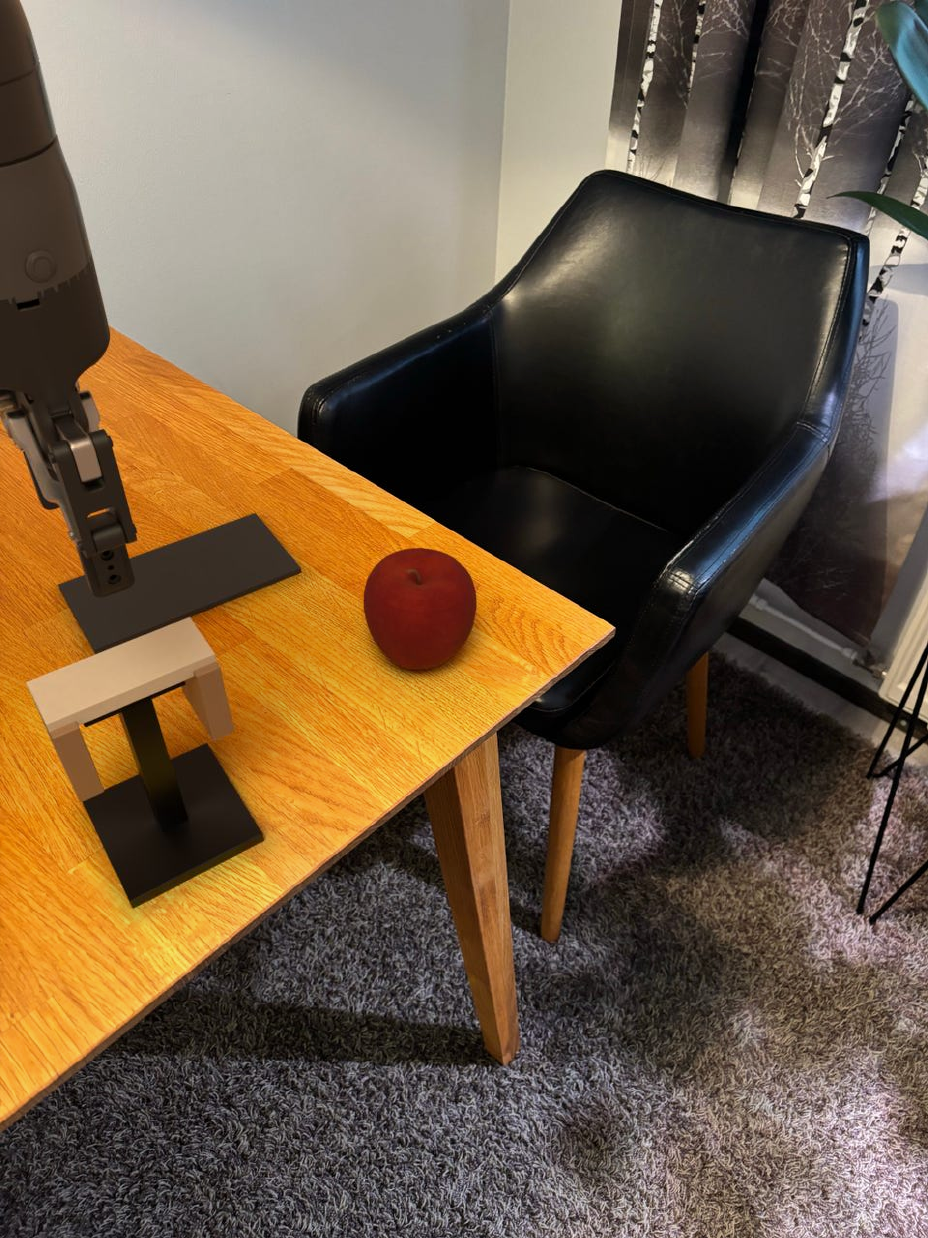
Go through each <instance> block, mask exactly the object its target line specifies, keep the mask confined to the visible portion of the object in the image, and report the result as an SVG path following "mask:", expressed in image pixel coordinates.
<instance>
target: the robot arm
mask: <svg viewBox="0 0 928 1238" xmlns="http://www.w3.org/2000/svg"><path fill="white" fill-rule="evenodd" d="M84 219H85V218H84V216H83V211H82V206H81V203H80V198H79V195H78V191H77V187H76V185H75V181H74V179H73V176H72V173H71V171H70V168H69V166H68V164H67V161H66V158H65V156H64V152H63V150H62V147H61V143H60V140H59V136H58V133H57V128H56V124H55V119H54V116H53V112H52V107H51V103H50V99H49V95H48V91H47V88H46V83H45V79H44V74H43V70H42V66H41V62H40V58H39V55H38V50H37V47H36V43H35V39H34V36H33V32H32V29H31V26H30V23H29V21H28V18H27V15H26V12H25V9H24V7H23V4H22V2H21V0H0V420H1V422H2V425H3V427H4V429H5V431H6V434H7V436H8V438H9V439H11V440H12V442H13V444H14V445H15V446H16V447H18V449H19V451H20V452H22V455H23V457H24V460H25V462H26V466H27V469H28V472H29V474H30V478H31V481H32V483H33V484H32V485H33V487H34V490H35V493H36V496H37V499H38V501H39V503H40V504H41V506H42V507H43V509H45V510H48V511H53V510H56V509H60V511H61V515H62V517H63V519H64V521H65V525H66V526H67V529H68V530H67V536H68V537H69V539H70V542H73V543H74V544H75V547H76V551H77V554H78V557H79V560H80V564H81V567H82V570H83V573H84V574H83V575H85V577H86V580H87V583H88V586H89V588H90V590H91V591H92V593H93V595H94V596H95V597H98V598H103V597H106V596H109V595H111V594H114V593H117V592H120V591H122V590H125V589H128V588H130V587H131V586H132V585H133V584H134V582H135V578H134V574H133V570H132V567H131V563H130V559H129V558H130V556H129V551H128V548H127V545H129V544H132V543H135V542H138V536H137V534H138V529H137V527H136V525H135V523H134V522H133V517H132V514H131V511H130V510H131V509H130V507H129V503H128V499H127V497H126V492H125V488H124V484H123V481H122V477H121V473H120V470H119V466H118V462H117V459H116V455H115V452H114V447H115V445H114V441H113V438H112V437H111V435H109V434H108V433H107V431H106V429H105V428H101V429H100V426H99V425H100V422H101V415H100V412H99V410H98V407H97V405H96V401H95V400H94V397H93V395H92V393H91V391H90V390H89V389H85V390H81V385H80V381H79V379H80V377H81V376H82V375H83V374H84V373H85V372H87V371H88V370H89V369H90V368H91V367H94V366H95V365H96V364H97V363H98V362H100V360H101V359H102V358H103V356H104V355H105V354H106V352H107V351H108V348H109V346H110V343H111V330H110V329H111V328H110V326H109V321H108V316H107V312H106V307H105V303H104V299H103V295H102V291H101V287H100V283H99V278H98V275H97V269H96V266H95V262H94V257H93V254H92V253H93V252H92V249H91V244H90V241H89V237H88V232H87V228H86V224H85V220H84ZM103 510H105V511H103ZM100 511H102V512H100ZM98 512H100V513H98ZM95 513H96V514H95ZM91 514H93V515H91Z"/></svg>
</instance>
